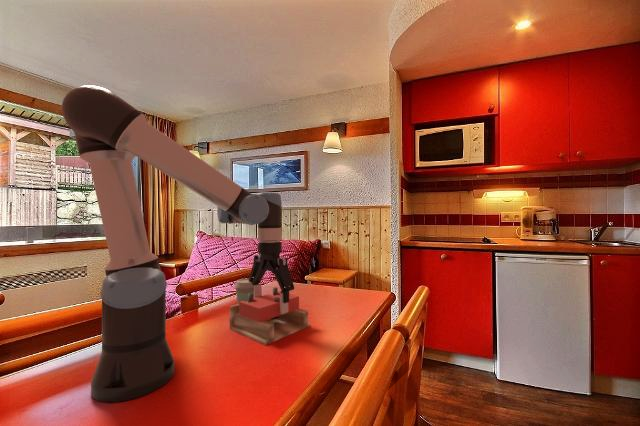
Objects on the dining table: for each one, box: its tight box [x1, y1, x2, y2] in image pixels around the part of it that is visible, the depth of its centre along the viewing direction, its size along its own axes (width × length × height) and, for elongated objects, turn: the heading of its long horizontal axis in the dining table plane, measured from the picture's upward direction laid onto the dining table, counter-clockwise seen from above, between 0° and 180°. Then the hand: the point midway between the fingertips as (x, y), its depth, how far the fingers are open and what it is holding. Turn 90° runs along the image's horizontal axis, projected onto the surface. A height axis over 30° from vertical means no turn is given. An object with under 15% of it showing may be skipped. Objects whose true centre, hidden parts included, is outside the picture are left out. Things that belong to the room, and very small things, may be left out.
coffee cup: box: [234, 277, 254, 304], centre depth 105 cm, size 8×8×12 cm
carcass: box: [229, 286, 311, 346], centre depth 92 cm, size 18×18×11 cm
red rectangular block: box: [239, 291, 300, 322], centre depth 92 cm, size 16×10×5 cm, turn 139°
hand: (270, 308), depth 92 cm, fingers open, 12 cm apart
